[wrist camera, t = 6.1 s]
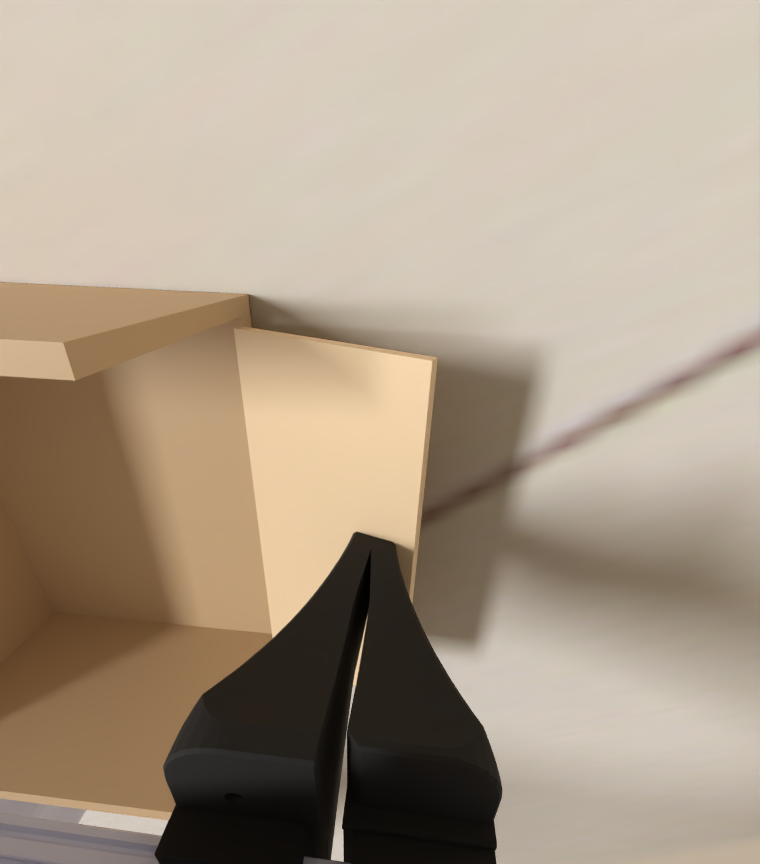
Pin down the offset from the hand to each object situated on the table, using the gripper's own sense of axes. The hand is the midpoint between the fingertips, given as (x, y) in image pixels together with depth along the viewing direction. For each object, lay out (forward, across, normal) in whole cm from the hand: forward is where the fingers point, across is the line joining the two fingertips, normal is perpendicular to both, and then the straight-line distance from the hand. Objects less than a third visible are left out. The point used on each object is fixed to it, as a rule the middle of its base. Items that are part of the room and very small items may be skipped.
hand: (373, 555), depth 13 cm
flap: (+2, +4, 0) cm, 5 cm away
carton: (+3, +11, 0) cm, 11 cm away
